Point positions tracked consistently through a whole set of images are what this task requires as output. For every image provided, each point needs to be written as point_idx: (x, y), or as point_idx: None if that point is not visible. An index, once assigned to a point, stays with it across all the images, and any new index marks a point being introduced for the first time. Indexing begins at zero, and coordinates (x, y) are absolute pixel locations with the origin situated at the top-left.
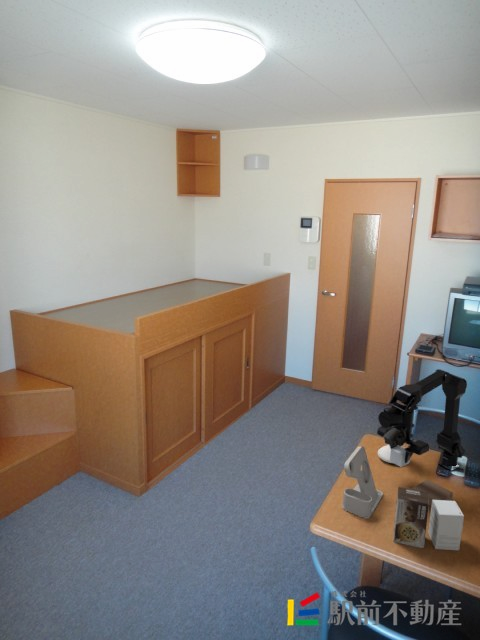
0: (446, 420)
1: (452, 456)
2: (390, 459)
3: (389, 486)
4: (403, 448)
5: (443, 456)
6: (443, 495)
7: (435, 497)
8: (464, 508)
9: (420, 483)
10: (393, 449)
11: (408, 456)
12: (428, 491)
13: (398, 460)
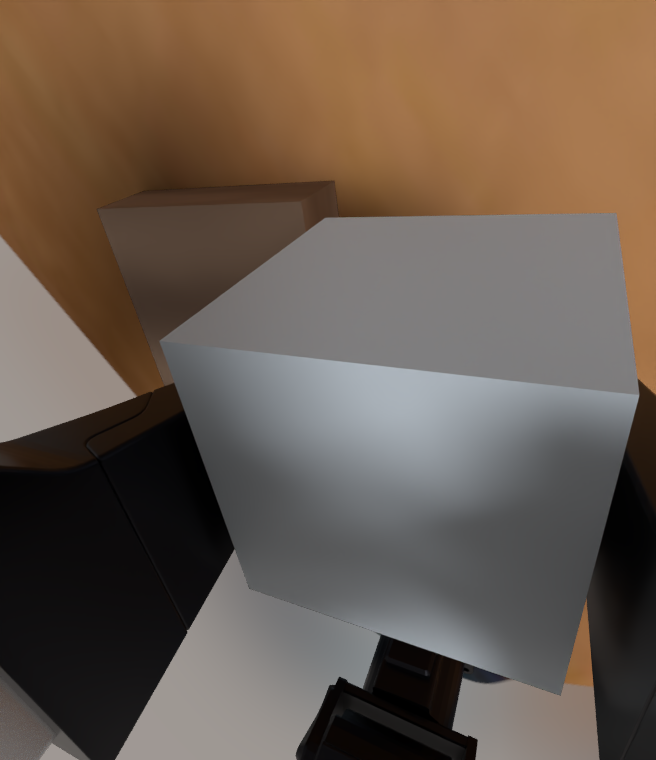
0: None
1: (371, 686)
2: (600, 228)
3: (555, 101)
4: (387, 605)
5: (422, 675)
6: (156, 327)
7: (147, 259)
8: (132, 348)
9: None
10: (530, 422)
11: (140, 408)
12: (216, 284)
13: (355, 256)
